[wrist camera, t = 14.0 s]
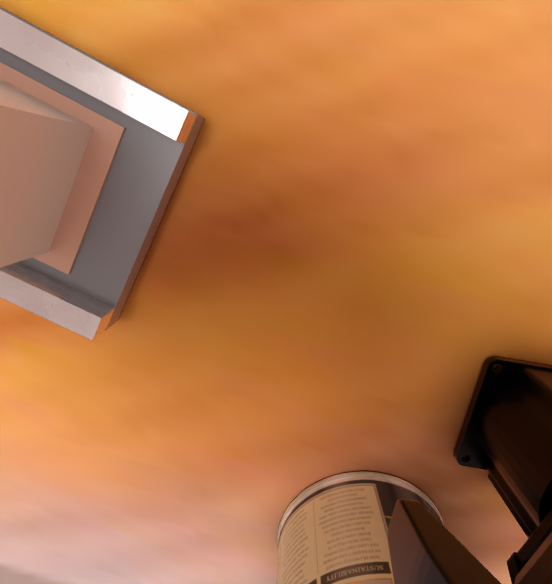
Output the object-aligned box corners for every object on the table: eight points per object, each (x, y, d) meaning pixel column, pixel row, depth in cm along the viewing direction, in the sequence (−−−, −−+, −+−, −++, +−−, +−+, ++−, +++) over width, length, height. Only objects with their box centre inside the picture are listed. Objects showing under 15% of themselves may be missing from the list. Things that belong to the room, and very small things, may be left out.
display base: (-127, 203, 20) (-196, 208, 17) (-74, -32, 17) (-146, -74, 14) (117, 319, 21) (91, 342, 19) (204, 118, 19) (189, 108, 16)
